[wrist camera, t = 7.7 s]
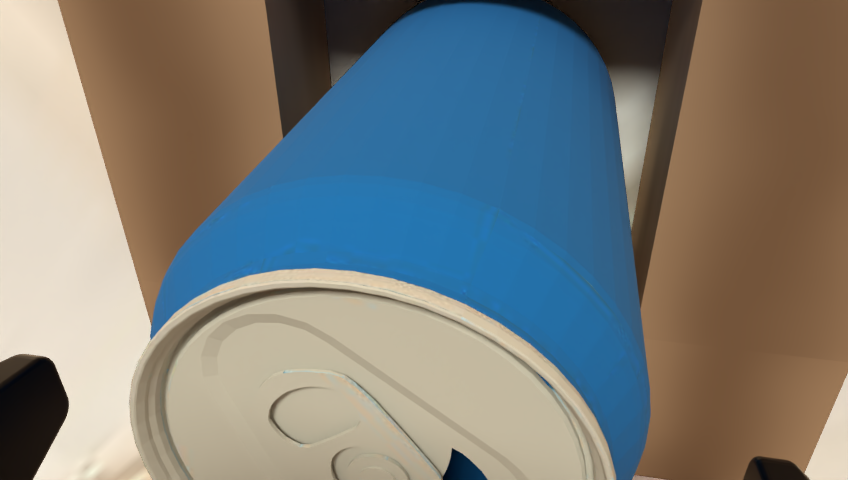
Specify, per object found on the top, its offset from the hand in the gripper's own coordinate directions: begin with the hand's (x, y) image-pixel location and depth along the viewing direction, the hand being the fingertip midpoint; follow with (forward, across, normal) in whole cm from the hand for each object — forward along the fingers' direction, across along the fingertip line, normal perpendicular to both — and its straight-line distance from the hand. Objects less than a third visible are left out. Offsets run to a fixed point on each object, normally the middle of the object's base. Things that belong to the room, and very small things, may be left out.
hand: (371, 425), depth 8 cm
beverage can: (+11, 0, 0) cm, 11 cm away
